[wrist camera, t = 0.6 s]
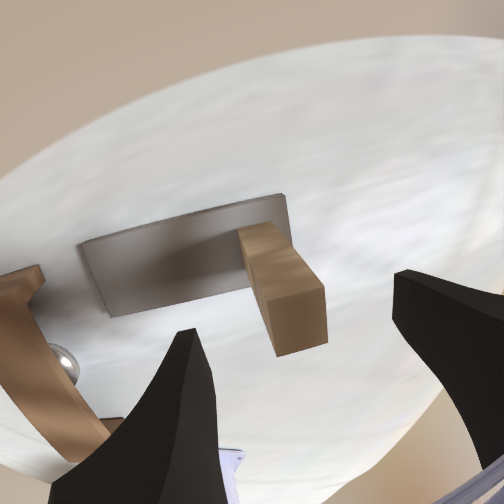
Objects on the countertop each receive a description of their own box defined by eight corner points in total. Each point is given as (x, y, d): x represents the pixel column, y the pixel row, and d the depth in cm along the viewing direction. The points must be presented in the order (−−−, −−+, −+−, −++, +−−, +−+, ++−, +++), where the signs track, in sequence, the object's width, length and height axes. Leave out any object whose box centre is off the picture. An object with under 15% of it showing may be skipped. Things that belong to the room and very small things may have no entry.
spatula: (281, 193, 18) (349, 244, 10) (293, 270, 20) (351, 358, 12) (85, 241, 17) (19, 320, 9) (113, 311, 19) (78, 412, 11)
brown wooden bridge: (130, 426, 23) (125, 462, 19) (76, 429, 22) (68, 462, 19) (38, 264, 17) (10, 293, 13) (-18, 282, 16) (-45, 309, 13)
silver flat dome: (80, 386, 21) (77, 394, 20) (37, 372, 20) (34, 380, 19) (80, 351, 20) (76, 359, 19) (34, 336, 19) (29, 343, 18)
